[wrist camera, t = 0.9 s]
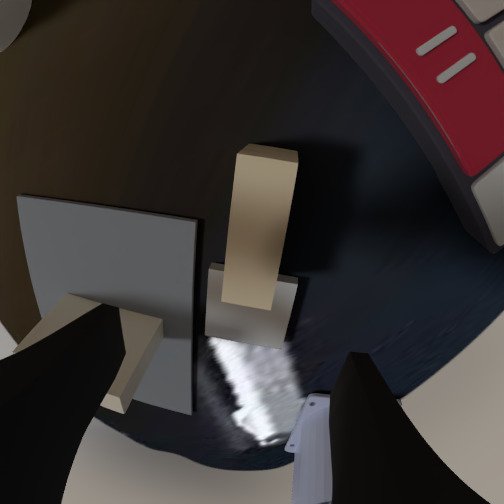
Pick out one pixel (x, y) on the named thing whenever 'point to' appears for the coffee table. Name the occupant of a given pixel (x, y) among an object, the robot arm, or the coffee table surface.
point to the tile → (135, 339)
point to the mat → (120, 276)
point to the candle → (12, 20)
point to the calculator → (439, 90)
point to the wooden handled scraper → (255, 252)
